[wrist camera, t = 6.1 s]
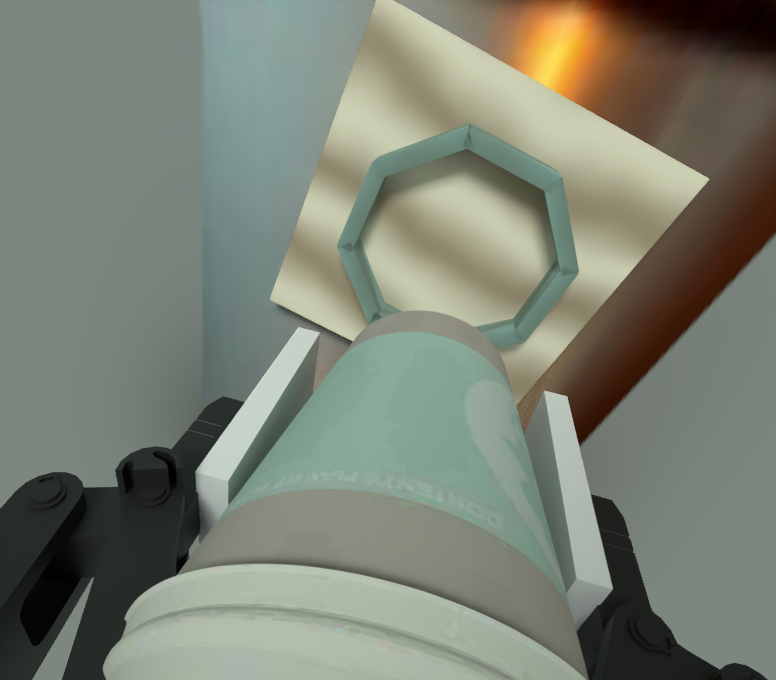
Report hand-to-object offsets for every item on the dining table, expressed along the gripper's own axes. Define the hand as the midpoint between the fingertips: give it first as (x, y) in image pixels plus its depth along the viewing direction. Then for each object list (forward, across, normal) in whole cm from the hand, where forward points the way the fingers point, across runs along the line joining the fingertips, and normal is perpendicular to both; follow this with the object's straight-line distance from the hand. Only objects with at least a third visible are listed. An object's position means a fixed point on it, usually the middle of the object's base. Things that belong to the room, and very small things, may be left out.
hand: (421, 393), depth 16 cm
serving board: (+18, 0, 0) cm, 18 cm away
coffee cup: (+1, 0, 0) cm, 1 cm away
